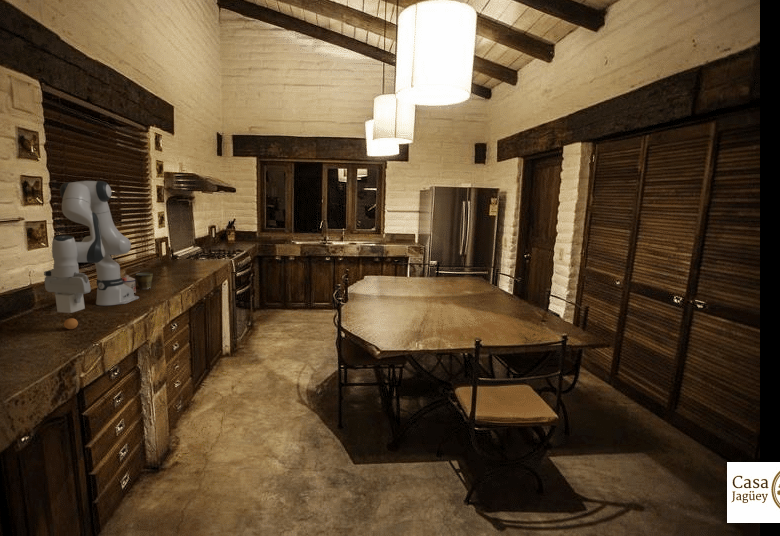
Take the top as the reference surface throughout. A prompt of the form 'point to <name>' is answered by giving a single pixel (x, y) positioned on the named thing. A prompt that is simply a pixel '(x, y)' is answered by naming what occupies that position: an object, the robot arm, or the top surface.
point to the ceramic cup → (144, 280)
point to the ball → (71, 323)
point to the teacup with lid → (130, 283)
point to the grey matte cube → (68, 303)
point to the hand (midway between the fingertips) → (69, 302)
